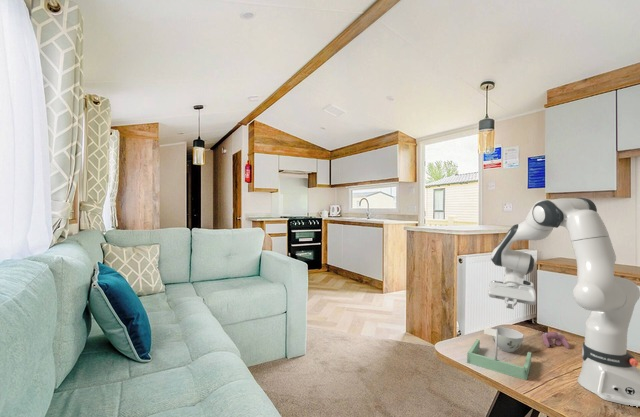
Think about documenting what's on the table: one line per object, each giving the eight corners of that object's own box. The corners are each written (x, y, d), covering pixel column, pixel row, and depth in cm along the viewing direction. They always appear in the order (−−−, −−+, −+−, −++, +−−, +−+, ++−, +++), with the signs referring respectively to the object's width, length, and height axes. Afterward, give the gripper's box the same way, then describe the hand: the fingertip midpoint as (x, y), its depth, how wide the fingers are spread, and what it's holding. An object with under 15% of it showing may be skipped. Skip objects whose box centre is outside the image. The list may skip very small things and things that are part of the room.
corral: (531, 362, 130) (532, 323, 130) (526, 380, 117) (528, 337, 117) (476, 347, 143) (477, 312, 143) (467, 362, 129) (468, 323, 129)
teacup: (528, 357, 135) (529, 338, 134) (497, 354, 136) (497, 336, 136) (513, 342, 149) (513, 325, 149) (484, 340, 151) (485, 323, 151)
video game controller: (565, 349, 147) (561, 332, 150) (571, 348, 143) (567, 332, 146) (542, 347, 148) (538, 331, 151) (547, 347, 144) (544, 330, 147)
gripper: (489, 276, 165) (485, 299, 158) (537, 283, 153) (534, 309, 145) (490, 283, 169) (486, 306, 161) (537, 291, 156) (535, 316, 149)
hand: (509, 307), depth 153 cm, fingers closed
